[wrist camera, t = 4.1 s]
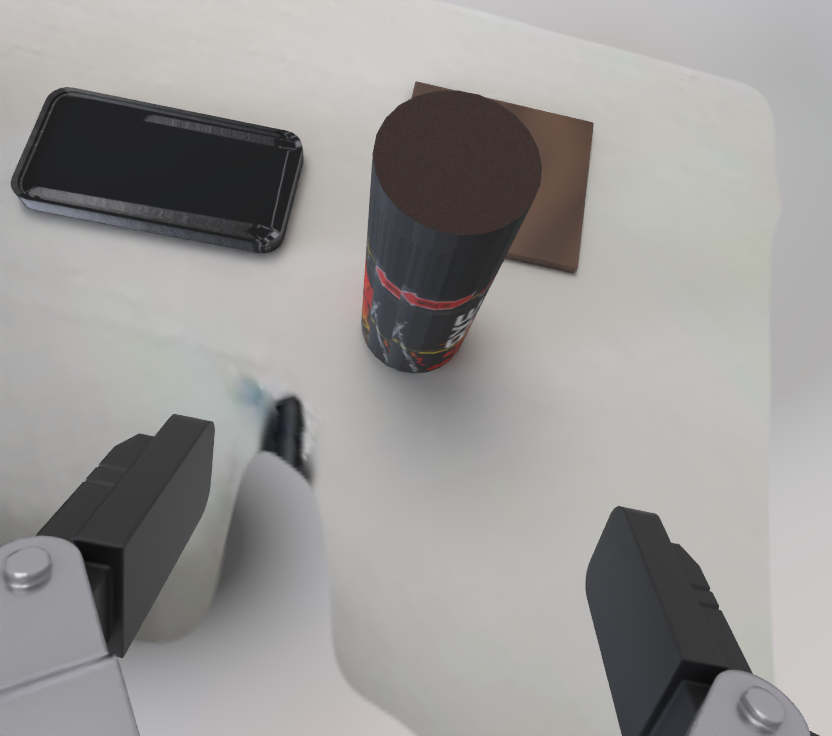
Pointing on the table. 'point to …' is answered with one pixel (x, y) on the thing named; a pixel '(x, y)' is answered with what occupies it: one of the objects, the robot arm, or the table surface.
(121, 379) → the table surface
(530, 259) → the walnut board
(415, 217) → the deodorant
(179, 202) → the phone
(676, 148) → the table surface
